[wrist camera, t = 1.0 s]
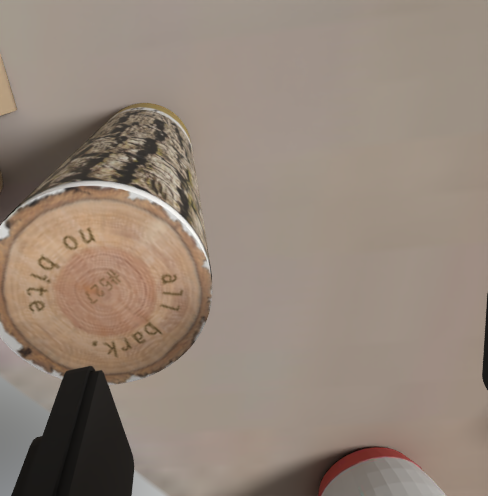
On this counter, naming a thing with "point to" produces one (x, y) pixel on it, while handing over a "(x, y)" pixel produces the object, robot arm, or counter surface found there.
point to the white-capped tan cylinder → (1, 182)
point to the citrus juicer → (377, 476)
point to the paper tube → (110, 254)
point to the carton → (5, 92)
